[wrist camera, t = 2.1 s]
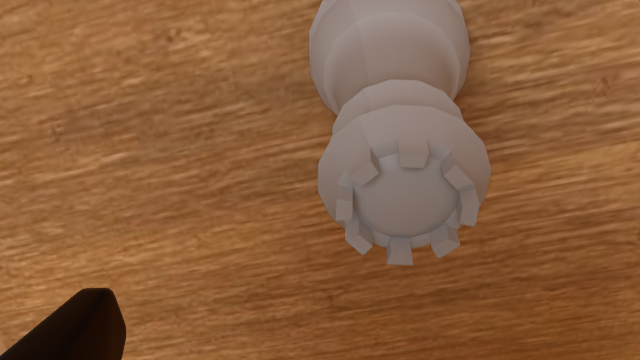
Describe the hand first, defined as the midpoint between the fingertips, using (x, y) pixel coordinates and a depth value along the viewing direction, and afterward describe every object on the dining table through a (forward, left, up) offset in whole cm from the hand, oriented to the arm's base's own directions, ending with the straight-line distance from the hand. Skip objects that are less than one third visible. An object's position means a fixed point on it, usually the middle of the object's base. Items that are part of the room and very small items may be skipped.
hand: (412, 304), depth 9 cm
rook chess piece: (0, 0, -10) cm, 10 cm away
